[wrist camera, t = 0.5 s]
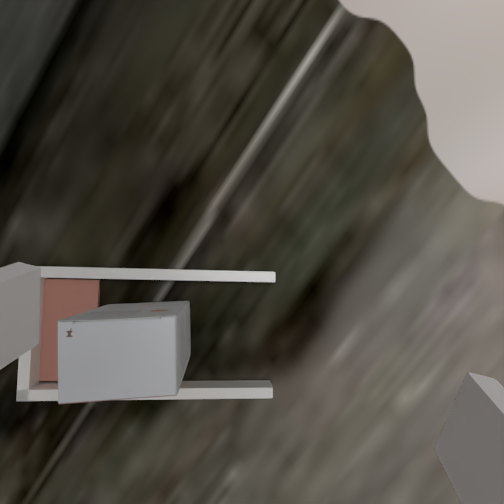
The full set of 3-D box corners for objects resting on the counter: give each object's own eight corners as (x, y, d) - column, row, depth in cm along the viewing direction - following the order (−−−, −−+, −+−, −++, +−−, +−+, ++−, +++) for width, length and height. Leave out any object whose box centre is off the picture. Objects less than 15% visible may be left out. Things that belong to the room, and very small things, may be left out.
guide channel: (36, 266, 31) (24, 266, 29) (272, 271, 33) (275, 271, 31) (29, 392, 31) (16, 401, 29) (269, 390, 33) (272, 398, 31)
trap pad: (46, 278, 31) (44, 278, 31) (100, 279, 32) (98, 279, 31) (41, 379, 31) (39, 381, 31) (95, 379, 31) (94, 380, 31)
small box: (109, 360, 32) (53, 406, 21) (108, 302, 32) (52, 320, 21) (192, 355, 32) (178, 398, 22) (191, 299, 33) (176, 315, 22)
